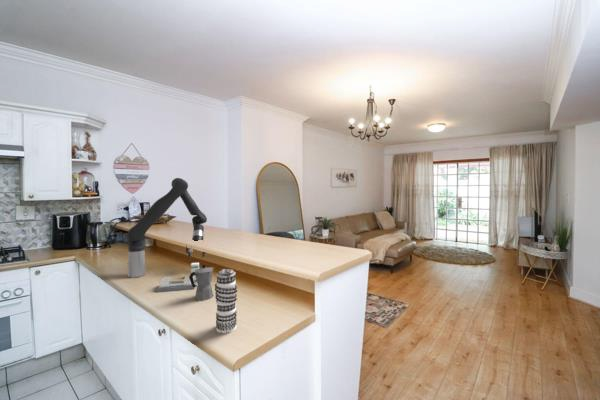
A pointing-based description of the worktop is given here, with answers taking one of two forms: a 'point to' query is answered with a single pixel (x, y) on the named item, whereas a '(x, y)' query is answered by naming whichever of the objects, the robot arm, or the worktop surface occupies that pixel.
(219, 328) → the black and white cylinder
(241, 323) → the worktop surface
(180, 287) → the rail panel
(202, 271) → the coffeepot
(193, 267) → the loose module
